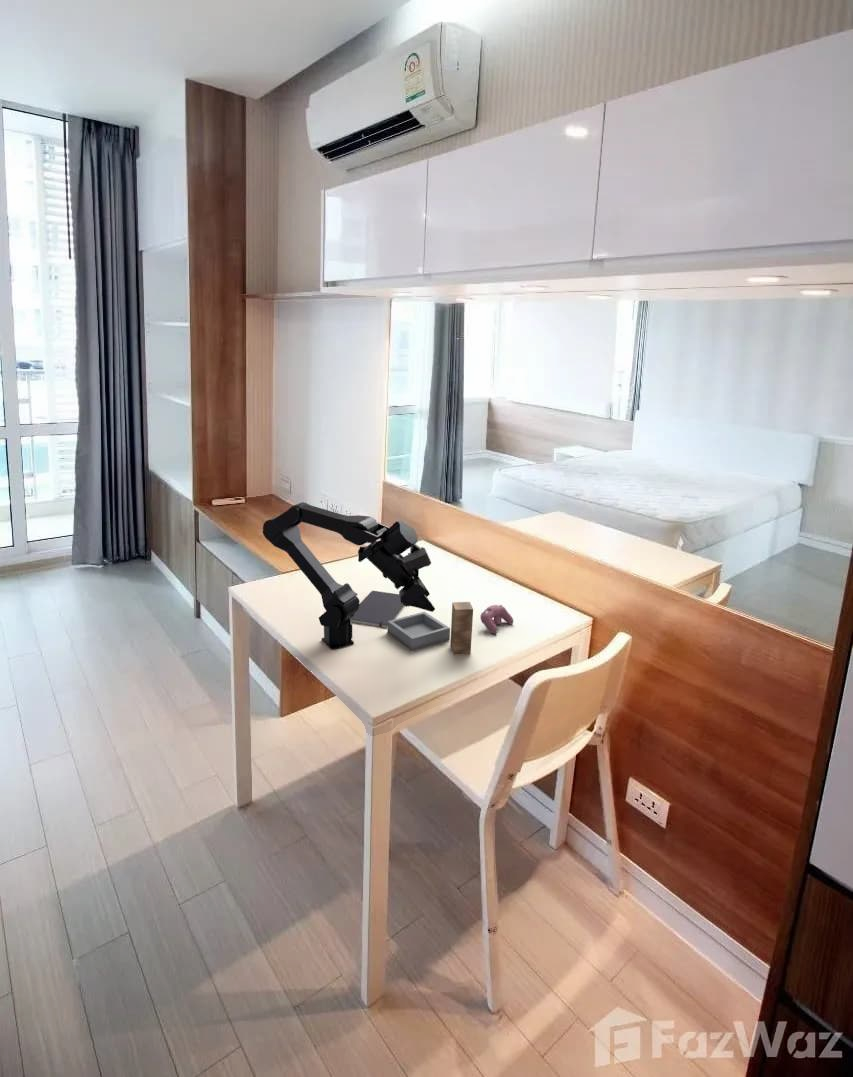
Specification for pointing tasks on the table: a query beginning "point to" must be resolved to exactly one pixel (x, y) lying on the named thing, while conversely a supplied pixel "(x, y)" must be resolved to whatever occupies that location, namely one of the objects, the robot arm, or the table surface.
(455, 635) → the walnut handle block
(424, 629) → the tray
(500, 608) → the video game controller
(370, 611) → the notebook
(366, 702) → the table surface
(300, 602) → the table surface
